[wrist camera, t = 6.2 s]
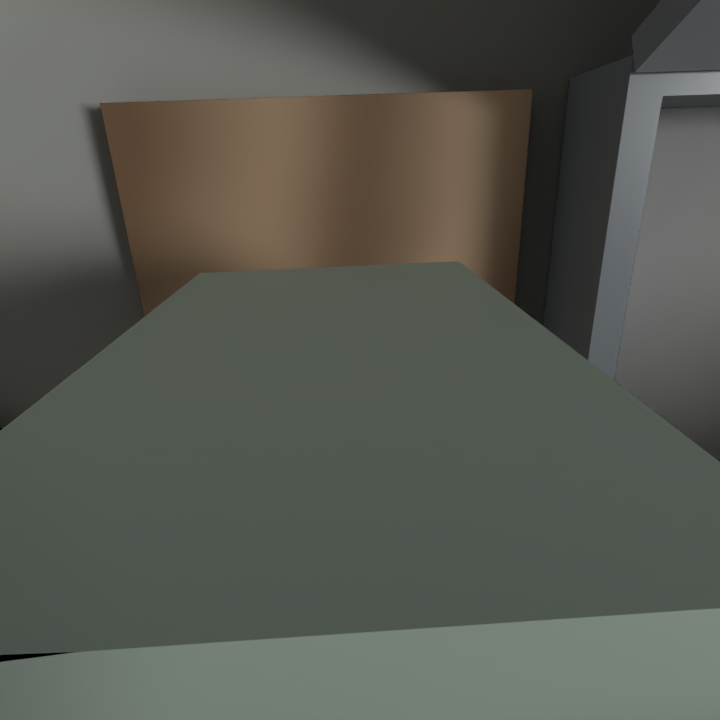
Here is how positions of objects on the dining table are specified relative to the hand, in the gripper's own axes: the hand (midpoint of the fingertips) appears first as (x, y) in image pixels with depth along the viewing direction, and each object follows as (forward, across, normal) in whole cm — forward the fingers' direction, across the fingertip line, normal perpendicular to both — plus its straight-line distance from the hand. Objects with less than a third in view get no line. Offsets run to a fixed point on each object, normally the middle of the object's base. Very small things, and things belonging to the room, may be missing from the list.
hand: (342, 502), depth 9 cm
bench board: (+7, 0, 0) cm, 7 cm away
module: (+2, 0, 0) cm, 2 cm away
